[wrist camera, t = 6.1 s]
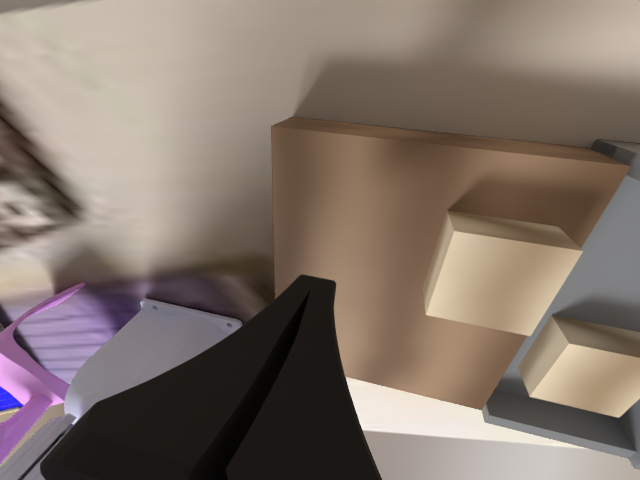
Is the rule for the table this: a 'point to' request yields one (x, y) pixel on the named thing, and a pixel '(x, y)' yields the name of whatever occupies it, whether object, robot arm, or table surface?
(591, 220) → the walnut board
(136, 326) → the robot arm
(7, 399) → the roof
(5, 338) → the toy chair
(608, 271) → the slate bin
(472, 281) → the tile
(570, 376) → the tile
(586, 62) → the table surface
